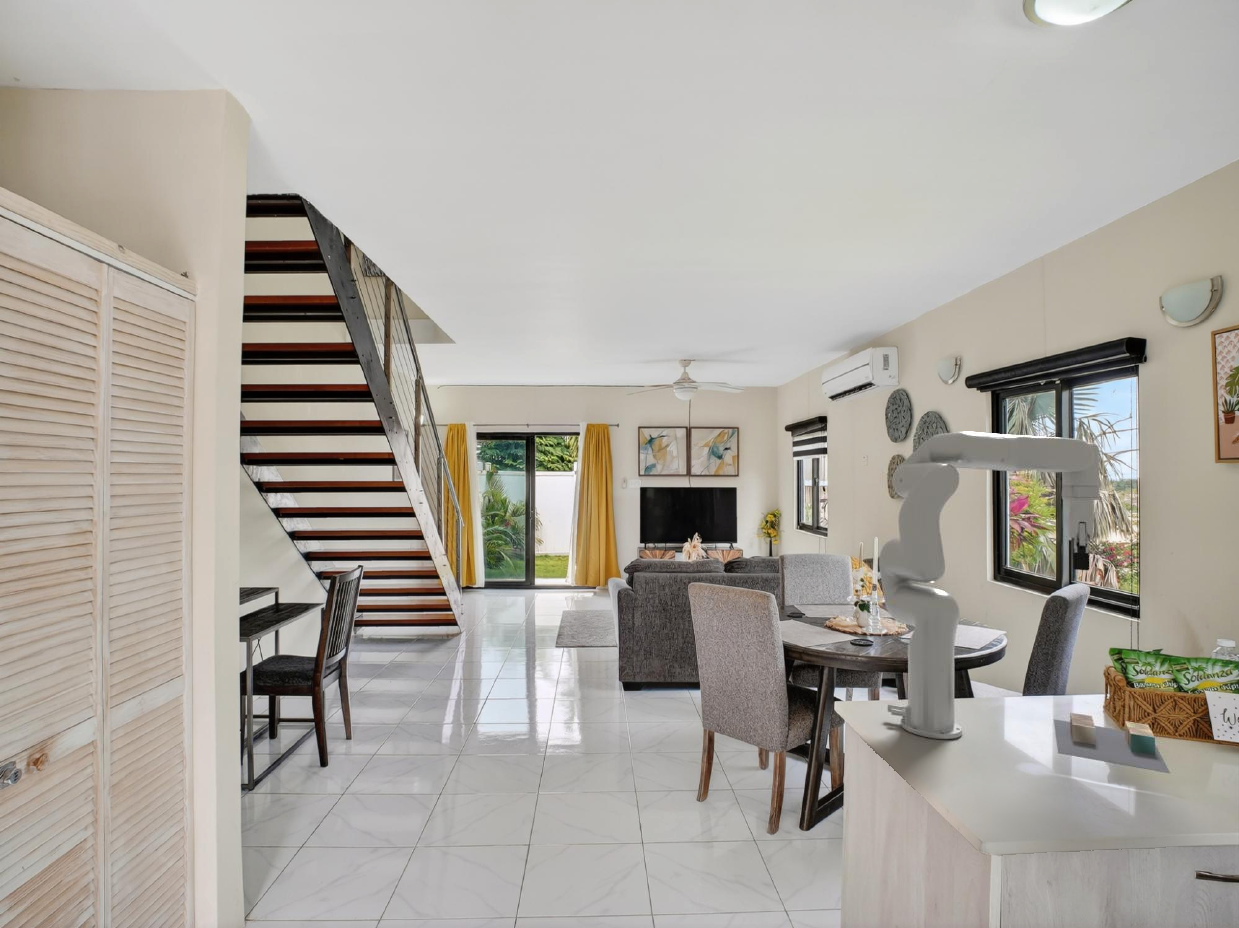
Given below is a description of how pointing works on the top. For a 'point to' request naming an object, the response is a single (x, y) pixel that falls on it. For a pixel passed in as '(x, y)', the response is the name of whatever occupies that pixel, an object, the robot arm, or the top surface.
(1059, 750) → the rubber mat
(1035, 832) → the top surface
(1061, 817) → the top surface
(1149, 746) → the oak block
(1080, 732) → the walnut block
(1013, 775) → the top surface
